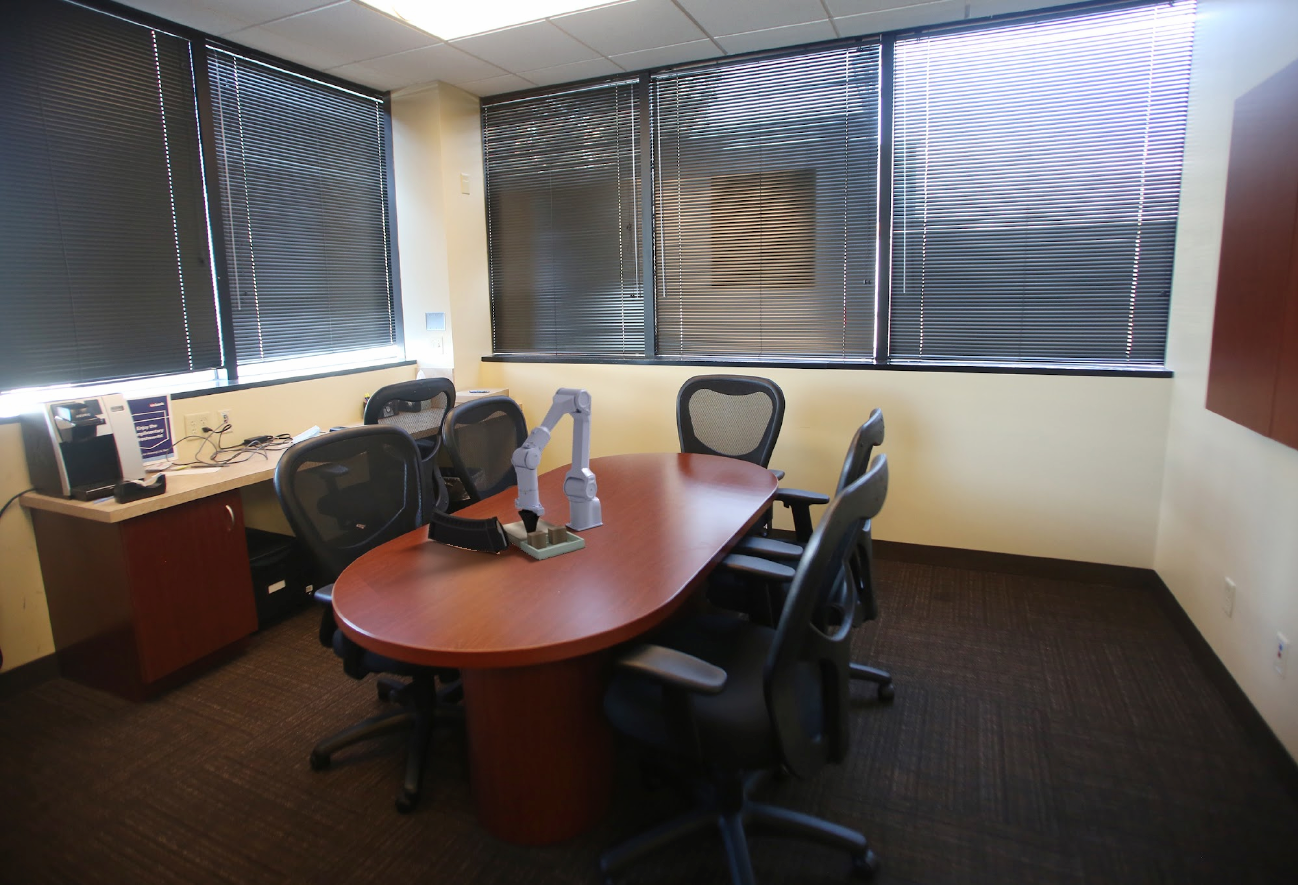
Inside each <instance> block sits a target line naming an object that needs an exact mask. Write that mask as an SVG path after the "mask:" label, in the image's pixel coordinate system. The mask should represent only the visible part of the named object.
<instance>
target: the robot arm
mask: <svg viewBox="0 0 1298 885" xmlns="http://www.w3.org/2000/svg"><path fill="white" fill-rule="evenodd" d="M566 414H569V415H570V416H571V417H572V418H573V425H572V426H573V427H572V428H573V430H572V451H571V468H570V469H569V470H568V471H567V472H566V473H565V478H564V482H563V484H562V491H563V494H564V495H565V496H566V498H567V500H569V502H568V503H569V519H570V522H567V523H565V525H564V526H565V527H568V528H571V529H573V530H574V531H576V532H581V531H584V530H589V529H592V528H596V527H599V526H603V525H604V523H603V522H602V505H601V502H600V499H599V498H598V497H597V496H596V495H597V492H598V485H597V482H596V474H595V473H593V472H592V471H591V469H590V454H591V452H590V450H591V432H592V430H591V429H592V428H591V427H592V395H591V393H589V392H588V390H587V389H585V388H566V387H559V388H558V389H557V390H555V394H554V395H553V396H552V404H551V407H550V408H549V410H548V412H547V413H546V415H545V417H544V418H543V420H542V422H541V424H540V425H539V426H535V427H534V428H532V429H531V430H530V433H529V435H528V436H527V438H526V440H525V441H524V442H523V443H522V445H521V447H518V448H516V449H515V450H514V452H513V453H512V455H511V456H512V458H510V461H511V464H512V465H513V467H514V470H515V471H514V472H515V473H516V479H517V492H518V494H517V495H518V497H517V498H515V499H514V506H515V509H517V510H519V511H517V514H518V515H519V517H520V518H521V521H523V523H524V526H525V529H526V532H527V533H531V532H535V531H536V528H537V523H538V519H539V518H540V517H541V516H545V515H546V513H545V507H543V506H542V504H541V502H540V498H539V497H540V496H539V483H538V470H537V468H538V466H539V465H540V464H541V462H542V461H541V460H542V459H541V458H542V454H543V451H544V449H545V448H546V447H547V445H548V443H549V441H550V440H551V439H552V436H551V432H552V431H553V429H554V428H555V427H556V426H557V424H558V422H560V420H561V419H562V418H563V416H564V415H566Z"/></svg>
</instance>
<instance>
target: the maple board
mask: <svg viewBox="0 0 1298 885" xmlns="http://www.w3.org/2000/svg"><path fill="white" fill-rule="evenodd" d="M502 525H503V527H504V529H505V531H507V535H508V538H509V541H510V542H511V543H513V544H515V545H516V546H518V547H519V548H518V547H517V548H518V549H520V548H521V546H520V542H522V541H526V540H527V532H526V529H525V526H524V523H523V520H519V521H515V522H511V523H506V524H502ZM554 526H556V524H553V523H551V522H549V521H546V520H545V519H542V518H540V517H539V519H538V523H537V528H536V531H539V530H541V531H543V532H546V535H548V528H550V527H554ZM511 543H510V544H511ZM513 544H512V545H513ZM515 545H514V546H515ZM516 546H515V547H516Z"/></svg>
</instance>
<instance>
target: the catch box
mask: <svg viewBox="0 0 1298 885" xmlns="http://www.w3.org/2000/svg"><path fill="white" fill-rule="evenodd" d="M566 532H567V542H564V543H560V544H557V545H552V544H550V543H549V539H548V535H546V544H547V547H546V548H543V549H539V550H537V549H535V548H533V547H531V546H530V545H528V542H527V540H526V541H522V542H520V546H521V549H520V551H521V550H523V551H524V553H525V552H526V553H525V554H527V553H528V554H527V555H529V554H530V555H532V556H533V557H532V556H531V557H532V558H534V557H535V558H534V559H536V560H538V559H539V560H538V561H542V560H541V559H543V560H546V559H549V558H548V557H550V558H553V557H555V556H559V555H564V554H567V553H570V552H574V551H579V550H581V549H584V548H586V541H585V539H584V538H582V537H580V536H578V535H576V534H574V533H573V532H570V531H568V530H566ZM523 551H522V552H523ZM563 553H564V554H563ZM530 555H529V556H530Z"/></svg>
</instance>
